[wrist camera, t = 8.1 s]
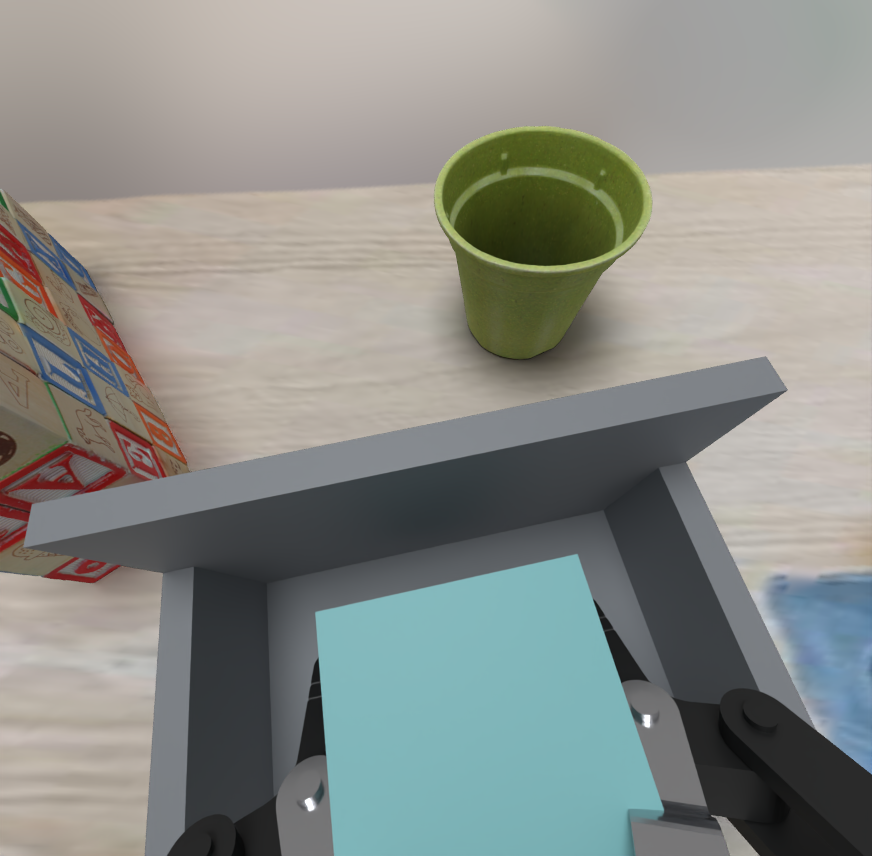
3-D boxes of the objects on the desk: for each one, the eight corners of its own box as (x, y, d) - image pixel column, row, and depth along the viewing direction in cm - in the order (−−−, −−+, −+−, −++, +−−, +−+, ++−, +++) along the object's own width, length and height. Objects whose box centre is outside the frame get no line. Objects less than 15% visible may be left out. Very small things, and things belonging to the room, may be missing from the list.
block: (557, 748, 14) (699, 913, 6) (408, 785, 14) (345, 1009, 6) (515, 590, 16) (577, 553, 8) (385, 619, 16) (315, 611, 8)
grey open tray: (716, 768, 17) (1199, 1029, 6) (260, 883, 16) (-159, 1443, 5) (609, 491, 22) (766, 356, 11) (253, 568, 21) (31, 504, 10)
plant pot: (419, 363, 25) (404, 245, 17) (462, 251, 29) (466, 112, 21) (578, 402, 24) (639, 292, 16) (602, 278, 28) (662, 140, 20)
